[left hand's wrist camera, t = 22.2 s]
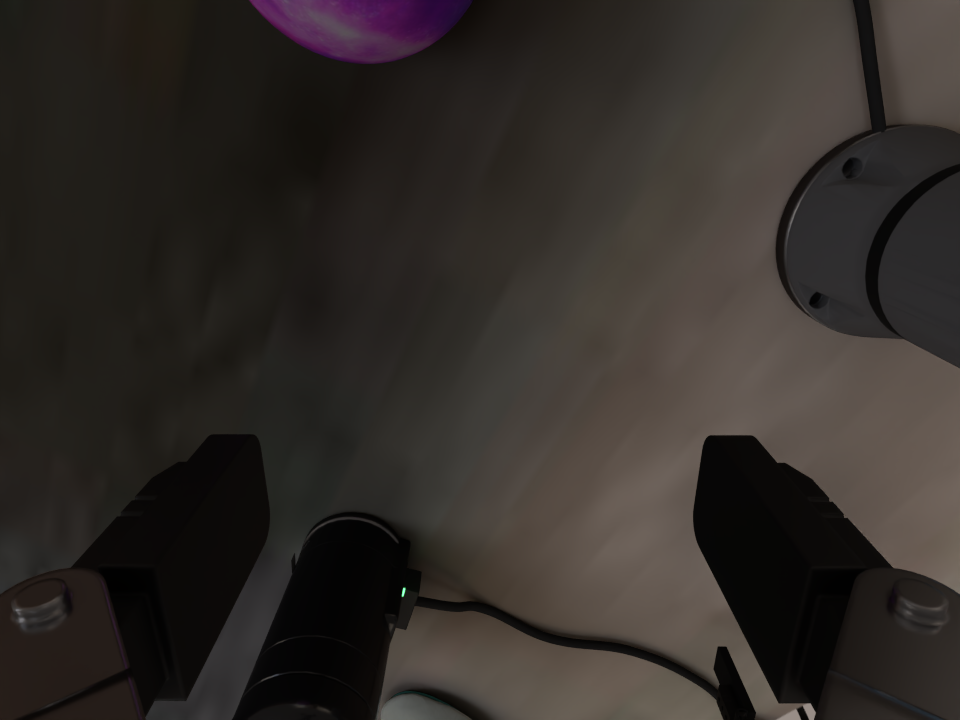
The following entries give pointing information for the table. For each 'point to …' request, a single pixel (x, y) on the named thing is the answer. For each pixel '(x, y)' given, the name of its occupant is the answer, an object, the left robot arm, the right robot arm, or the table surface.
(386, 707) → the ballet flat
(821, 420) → the table surface
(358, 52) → the decorative orb
